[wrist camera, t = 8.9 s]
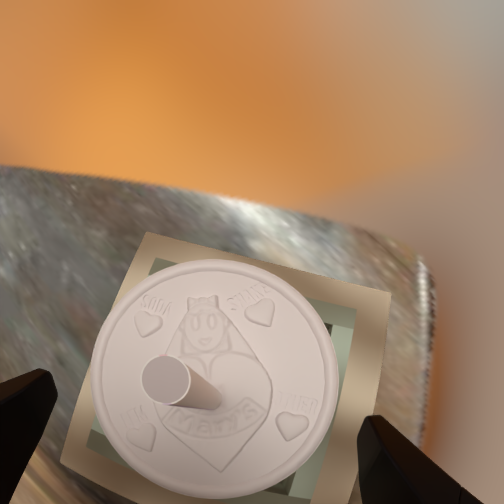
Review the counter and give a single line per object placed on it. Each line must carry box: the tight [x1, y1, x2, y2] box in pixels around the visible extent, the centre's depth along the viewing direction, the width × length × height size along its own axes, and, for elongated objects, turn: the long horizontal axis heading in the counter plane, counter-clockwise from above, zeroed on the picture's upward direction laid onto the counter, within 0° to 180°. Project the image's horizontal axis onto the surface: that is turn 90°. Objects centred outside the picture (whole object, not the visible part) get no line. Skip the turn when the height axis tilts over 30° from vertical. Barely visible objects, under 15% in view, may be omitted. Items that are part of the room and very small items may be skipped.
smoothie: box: [90, 259, 339, 499], centre depth 10 cm, size 6×6×14 cm
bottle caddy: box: [60, 232, 391, 504], centre depth 15 cm, size 16×16×4 cm
